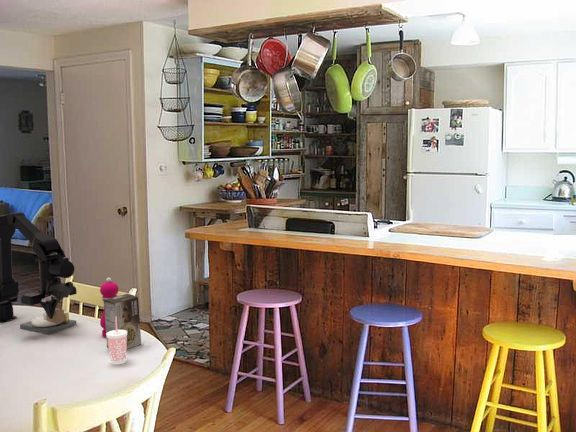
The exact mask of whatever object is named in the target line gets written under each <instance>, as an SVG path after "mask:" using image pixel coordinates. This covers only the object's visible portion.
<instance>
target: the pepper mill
mask: <svg viewBox="0 0 576 432" xmlns="http://www.w3.org/2000/svg"><path fill="white" fill-rule="evenodd" d="M105 280H106V281H105V282H104V283H102V284H101V286H100V287H99V292H100V294H101V296H102V297H101V300H102V302H103V303H104V300H105V299H109V298H113V297H116V296H118V295H117V294H118V292H119V289H120V288H119V286H118V284H117V283H116V282H113V281H112V278H111V277H107V278H106V279H105ZM99 325H100V327H101V328H102V330H101V334H102V336H103V337H104V338H107V337H106V322H105V307H104V306H103V312H102V314H101V317H100V323H99Z"/></svg>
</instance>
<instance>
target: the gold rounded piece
mask: <svg viewBox="0 0 576 432" xmlns="http://www.w3.org/2000/svg"><path fill="white" fill-rule="evenodd" d="M64 319H65V321H63V323H64V324H68V323H69V319H70V313H69V312H64Z"/></svg>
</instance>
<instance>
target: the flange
mask: <svg viewBox="0 0 576 432" xmlns="http://www.w3.org/2000/svg"><path fill="white" fill-rule="evenodd" d="M64 313H65V310H64V309H60V308H57V307H56V308H55V311H54V315H53V318H52V319H49V317H48V315H47V313H46V312H43V314H42V315H40V316H36V317H33V318H32V319H31V320H30V321H31V322H32V325H33V326H36V327H48V326H54V325H58V324H61V323H63V321H65V319H64Z"/></svg>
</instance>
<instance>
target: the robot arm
mask: <svg viewBox="0 0 576 432" xmlns="http://www.w3.org/2000/svg"><path fill="white" fill-rule="evenodd" d="M16 231H19V233H20V234H22V235H23V236H24V237H25V238H26V239H27V240H28V241H29V242H30V243H31V249H32V251H33V252H34V253H35V254H36V255H37V257H36V258H35V260H34V261H35V262H38V267H39V277H37V278H36V279H37V282H39V284H40V285H39V287H40V288H39V289H37V293H33V292H30V293H25V294H23V295H22V296H20V303H21V304H23V305H28V306H34V305H38V304H40V306H41V307H42V308H43V310H44V311H45V312H46V313H47V315H48V317H49V319H52V318H53V315H54V311H55V308H57V305H58V304H59V303H60V302H61V301H63V299H64V298H69V296H74V295H77V294H78V293H77V292H78V291H77V287H76V286H75V285H74V283H73V282H72V281H67V282H62V280H61V278H63V279H68V278H71V277H72V276H73V275H74V273H75V266H74V264H73V262H71V261H70V260H69V257H66V254H65V251H64V250H63V248H62V246H61V245H60V243H59V241H58V239H57V238H55V237H54V236H52V235H50V234H47V233H44V232H43V231H41V230H40V229H39V228H38V227H37V225H35V224H34V223H33V222H32V221H31V220H29V218H28V217H26V215H25V213H24V212H21V211H18V212H10V213H9V214H2V215H0V323H5V322H9V321H12V320H15V319H17V318H18V316H15V314H14V307H13V306H14V305H13V303H16V302H18V296H19V292H20V291H19V282H18V281H16V280H15V279H14V277H13V259H12V258H13V255H12V239H13V237H14V236H15V233H16ZM38 293H39V294H38ZM45 312H44V313H45Z"/></svg>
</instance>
